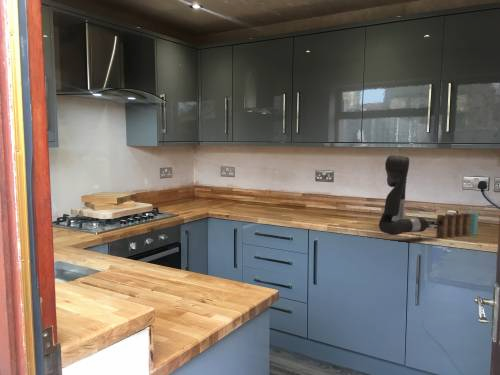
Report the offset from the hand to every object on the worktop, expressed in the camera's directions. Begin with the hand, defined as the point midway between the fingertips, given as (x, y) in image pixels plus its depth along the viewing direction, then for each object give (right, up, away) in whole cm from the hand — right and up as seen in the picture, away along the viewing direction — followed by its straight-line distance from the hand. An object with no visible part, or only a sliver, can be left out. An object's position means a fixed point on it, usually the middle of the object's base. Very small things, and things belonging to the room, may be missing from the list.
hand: (440, 222), depth 222 cm
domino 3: (+12, -8, +6) cm, 15 cm away
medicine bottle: (+15, -6, +19) cm, 25 cm away
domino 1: (+1, -8, +1) cm, 8 cm away
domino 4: (+17, -7, +8) cm, 20 cm away
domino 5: (+22, -7, +10) cm, 25 cm away
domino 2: (+7, -8, +4) cm, 11 cm away
